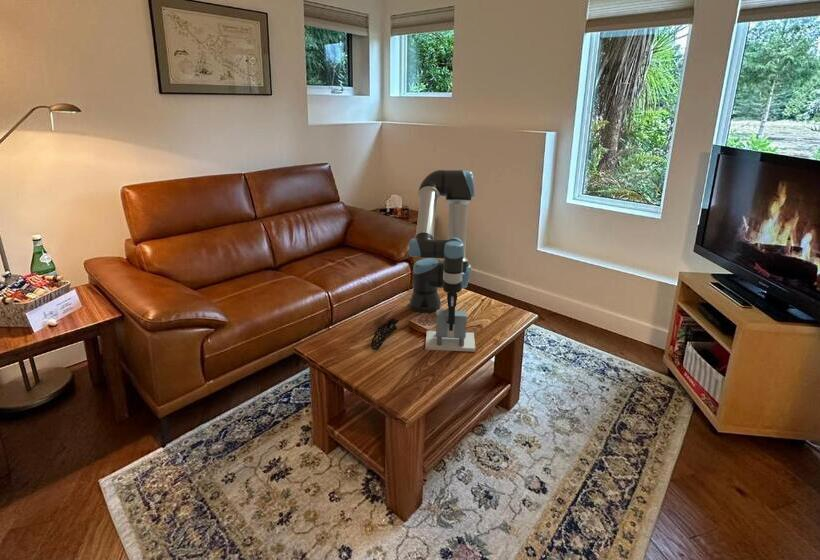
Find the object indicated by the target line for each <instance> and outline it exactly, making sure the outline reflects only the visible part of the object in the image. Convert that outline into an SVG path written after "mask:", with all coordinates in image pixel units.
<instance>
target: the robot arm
mask: <svg viewBox="0 0 820 560" xmlns="http://www.w3.org/2000/svg"><path fill="white" fill-rule="evenodd" d="M475 194H476V193H475V181H474V174H473V172H472V171H470V170H460V169H459V170H457V169H456V170H455V169H453V170H452V169H451V170H449V169H438V170H434V171H432V172H430V173H429V174H427V176H426V177H425V178H424V179H423V180H422V182H421V183H420V185H419V189H418V197H419V206H418V212H417V213H418V214H417V223H416V228H415V229H416V232H415V237H413V238H410V240H409V242H408V253H409V256H410V257H413V258H422V259H419V260H417V261H416V262H415V263H414V264H413V271H412V273H413V274H412V275H413V278H412V279H413V280H412V281H413V282H412V283H413V284H412V285H413V286H412V287H413V288H412V289H413V290H412V294H411V297H410V299H409V308H410V309H411V310H412V311H414V312H418V313H426V314H428V313H434V312H437V310H441V309H440V308H441V303H442V302H441V299H440V296H439V292H438V288H439V289H440V288H442V289H443V292H445V293H446V300H447V307H448V309H447V310H449V313H448V321H446V323H448V329H447V337H454V324H455V310H456V308H457V301H458V293H461V291H462V290H463V289H466V288H467V287H468V285H469V279H470V275H471V270H472V269H471V268H472V265H471V264H470V263H469V260H468V259H467V257H466V245H467V244H466V243H467V242H466V241H467V224H468V223H467V222H468V205H469V204H470V203H471V202H472V198H474V197H475ZM440 197H445V202H447V204H448V216H447V217H448V218H447V219H448V221H447V239H434V238H435V226H436V217H437V215H436V214H437V204H438V200H439V199H440ZM438 259H443V260H442V262H439V260H438Z"/></svg>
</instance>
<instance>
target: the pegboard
mask: <svg viewBox="0 0 820 560" xmlns="http://www.w3.org/2000/svg"><path fill="white" fill-rule="evenodd" d="M424 349H425V350H430V351H432V350H433V351H448V352H449V351H452V352H455V351H456V352H472V353H475V352H476V343H475V333H474V332H469V331H468V332H467V331H466V337H465V338H444V337H436V330H426V337H425V346H424Z"/></svg>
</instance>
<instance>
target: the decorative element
mask: <svg viewBox="0 0 820 560" xmlns="http://www.w3.org/2000/svg"><path fill="white" fill-rule="evenodd" d="M398 323H399V320H398V319H396V318H394V317H392V318H390V319H389V320H388V321H387V322H384V323H383V324H381V325H380V326H378V327H377V328H376V331H374V333H373V337H372V339H371V344H370V348H371V349H372V350H375V351H378V350H380V348H381V347H382V345H383V344H384V342H385V341H386V337H387V335H388V334H389V335H390V334H391V333H392V332H394V331H396V330H397V329H398V325H397V324H398ZM380 338H381V339H380Z"/></svg>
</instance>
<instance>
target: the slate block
mask: <svg viewBox="0 0 820 560" xmlns="http://www.w3.org/2000/svg"><path fill="white" fill-rule="evenodd" d="M448 313H449V310H448V309H439V310H437V311H436V317H435V318H436V320H435V321H436V322H435V323H436V324H435V325H436V326H435V331H436V337H444V338H465V337H466V332H467V318H468V317H467V316H468V315H467V310H456V309H455V324H454V337H447V329H448V323H446V321H448Z"/></svg>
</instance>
